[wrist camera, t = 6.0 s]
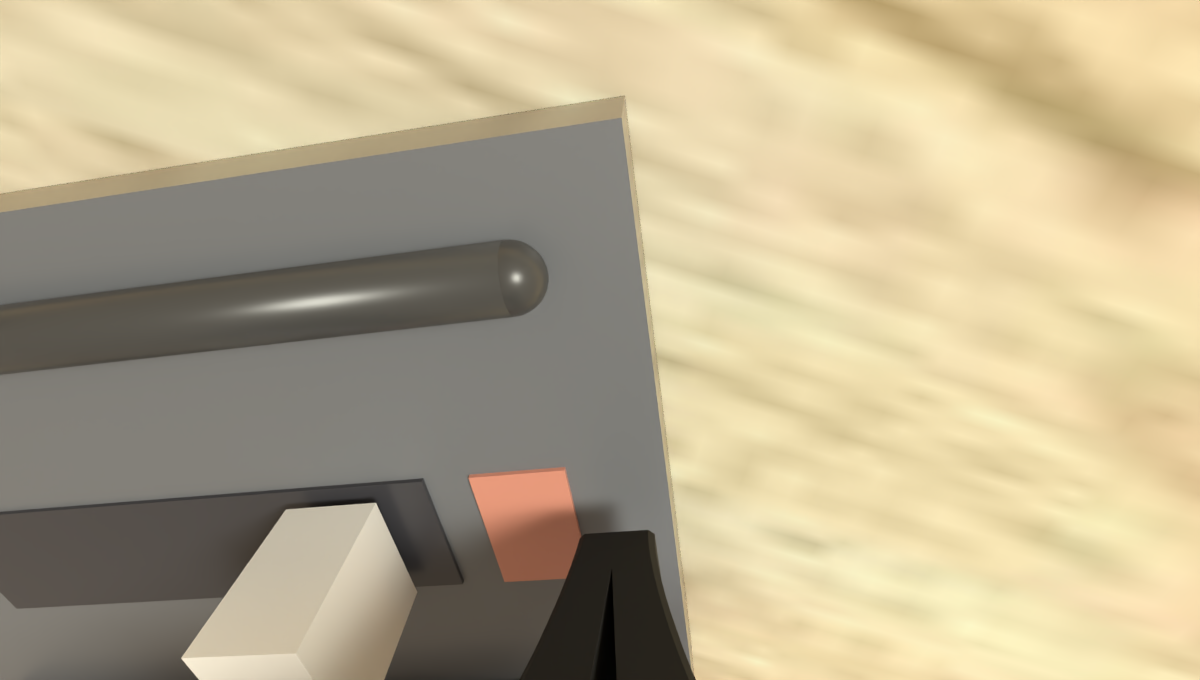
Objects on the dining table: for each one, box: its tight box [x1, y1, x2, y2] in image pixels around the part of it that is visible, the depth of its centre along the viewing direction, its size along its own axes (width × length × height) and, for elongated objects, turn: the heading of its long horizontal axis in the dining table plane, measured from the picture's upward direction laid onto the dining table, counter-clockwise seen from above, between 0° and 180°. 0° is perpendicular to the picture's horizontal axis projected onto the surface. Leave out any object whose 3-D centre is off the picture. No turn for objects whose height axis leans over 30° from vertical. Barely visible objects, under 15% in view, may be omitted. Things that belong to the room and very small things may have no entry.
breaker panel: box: [0, 96, 694, 680], centre depth 14 cm, size 16×22×4 cm
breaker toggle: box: [181, 503, 417, 680], centre depth 11 cm, size 3×2×3 cm
